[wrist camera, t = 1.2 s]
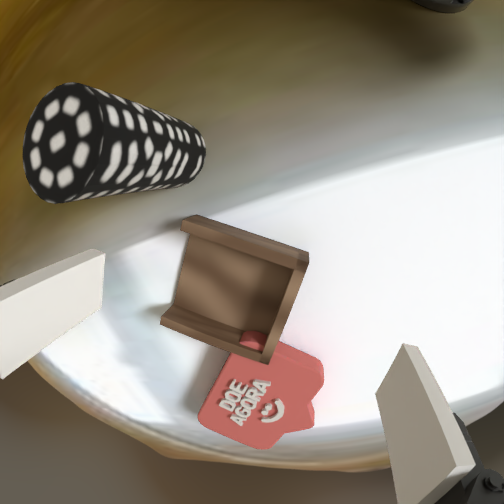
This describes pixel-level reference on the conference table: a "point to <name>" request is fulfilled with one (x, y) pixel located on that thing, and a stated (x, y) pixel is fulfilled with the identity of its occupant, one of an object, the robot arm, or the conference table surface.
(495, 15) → the conference table surface
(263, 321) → the walnut tray
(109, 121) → the spotted tube
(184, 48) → the conference table surface
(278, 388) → the plaque
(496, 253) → the conference table surface
